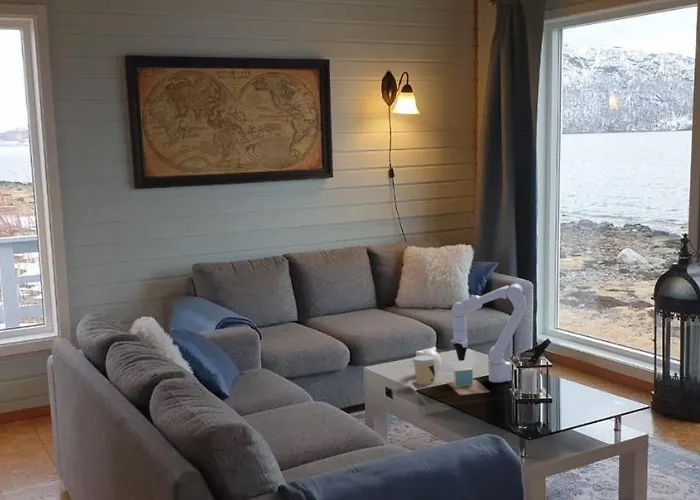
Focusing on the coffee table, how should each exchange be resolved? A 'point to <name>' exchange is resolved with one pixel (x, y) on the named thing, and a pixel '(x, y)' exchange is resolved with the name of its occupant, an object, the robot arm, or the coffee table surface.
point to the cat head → (431, 353)
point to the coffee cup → (424, 369)
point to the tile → (463, 377)
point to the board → (469, 388)
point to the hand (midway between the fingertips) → (461, 360)
